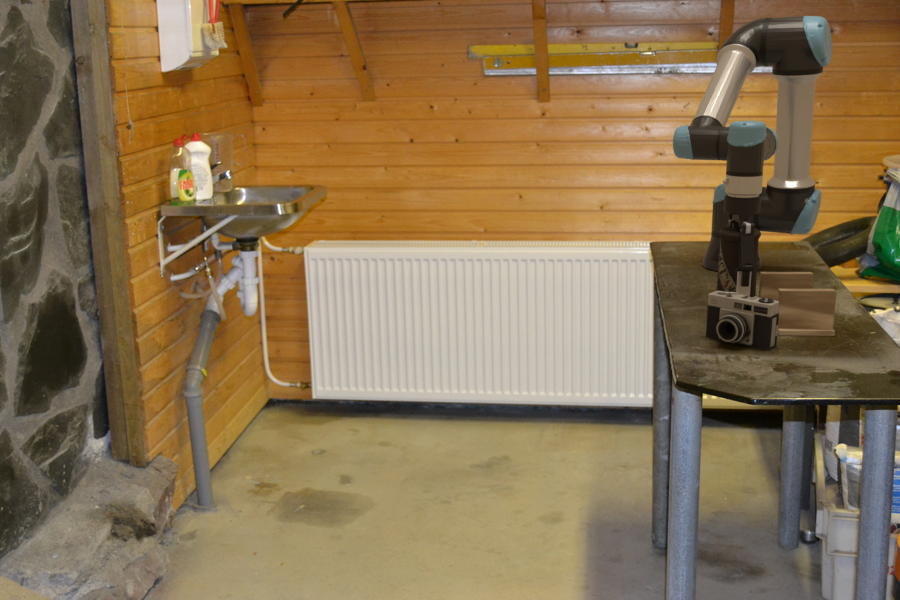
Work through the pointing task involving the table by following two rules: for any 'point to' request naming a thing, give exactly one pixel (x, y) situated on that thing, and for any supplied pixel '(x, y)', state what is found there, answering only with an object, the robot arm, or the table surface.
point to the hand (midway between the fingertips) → (736, 293)
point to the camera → (742, 320)
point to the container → (733, 260)
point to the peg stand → (799, 303)
